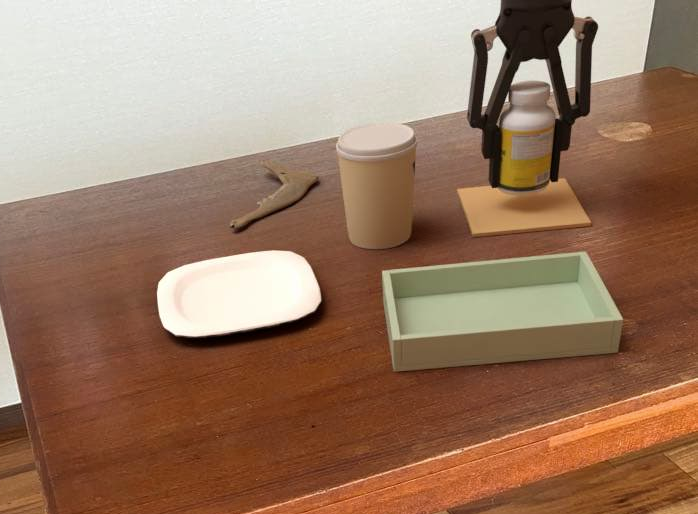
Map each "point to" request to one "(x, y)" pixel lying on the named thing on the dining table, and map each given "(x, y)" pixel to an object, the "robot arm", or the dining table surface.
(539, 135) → the pill bottle
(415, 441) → the dining table surface
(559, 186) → the cork mat
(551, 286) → the tray
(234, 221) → the jawbone
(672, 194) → the dining table surface
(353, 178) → the coffee cup
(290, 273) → the plate
